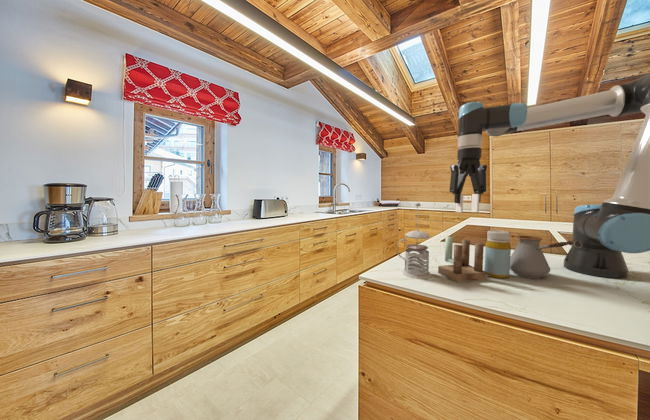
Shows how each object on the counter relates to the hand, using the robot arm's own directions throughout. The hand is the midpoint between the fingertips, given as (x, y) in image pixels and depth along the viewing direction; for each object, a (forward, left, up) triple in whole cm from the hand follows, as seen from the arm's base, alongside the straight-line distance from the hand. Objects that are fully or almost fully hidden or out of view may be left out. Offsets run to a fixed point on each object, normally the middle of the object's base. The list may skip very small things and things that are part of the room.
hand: (467, 211), depth 90 cm
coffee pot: (-13, +17, -21) cm, 30 cm away
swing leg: (+7, +2, -18) cm, 20 cm away
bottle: (-4, +10, -21) cm, 24 cm away
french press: (+22, +2, -21) cm, 31 cm away
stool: (+8, +8, -21) cm, 24 cm away
